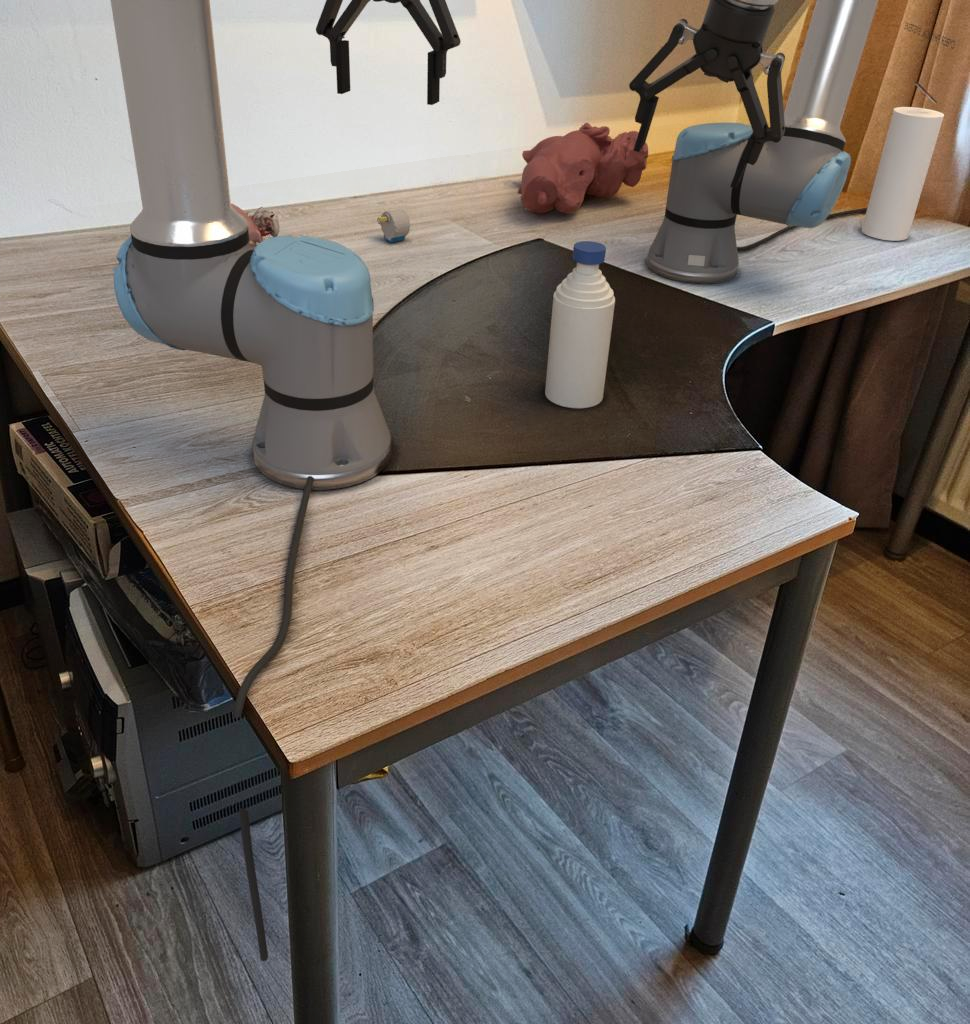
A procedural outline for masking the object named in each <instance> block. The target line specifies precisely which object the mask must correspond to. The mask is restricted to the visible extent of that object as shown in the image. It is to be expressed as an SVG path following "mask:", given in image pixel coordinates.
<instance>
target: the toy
mask: <svg viewBox="0 0 970 1024" xmlns="http://www.w3.org/2000/svg"><path fill="white" fill-rule="evenodd" d="M231 206H232V207H233V209H235V210H236V211H237V212H238V213H239V214H241V215H242V216H243V217H244V218H245V219H246V220H247V223H248V232H249V241H250V247H251V248H253V249H255V247H256V246H257V245H258V244H259V243H261V242H262V241H264V237H267V236H269V235H270V236H272V238H273V237H278V236H279V234H280V231H281V225H280V221H279V218H278V217H274V216H276V215H275V213H274V212H273V211H269V210H268V209H265V208H264V207H263V206H261V207H259V208H258V209H257V210H256V211H255V212H254V214H251V215H249V211H246V212H245V210H243V209H242V208H240V207H239V205H235V204H233V203H231ZM257 243H258V244H257Z"/></svg>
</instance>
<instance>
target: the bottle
mask: <svg viewBox="0 0 970 1024" xmlns="http://www.w3.org/2000/svg"><path fill="white" fill-rule="evenodd" d="M599 268H600V264H598V265H585V264H581V263H578V262H576V266H575V267H574V268H572V270H571V271H572V272H571V271H570V273H568V274H567V276H566V278H563V280H562V281H561V283H559V284H558V285H557V286H556V290H555V291H554V292H553V299H552V309H551V321H550V330H549V344H548V353H547V363H546V364H547V366H546V377H545V379H546V380H545V389H544V395H545V397H546V399H547V400H549V401H550V402H551V403H552V404H555V405H558V406H560V407H564V408H569V409H588V408H592V407H596V406H597V405H599V404H600V403H601V402H603V398H604V392H605V385H606V376H607V368H608V360H609V353H610V344H611V338H612V329H613V321H614V314H615V313H614V312H615V305H616V297H615V296H614V295H615V293H614V290H613V289H612V287H611V286H610V284H609V282H608V281H607V278H606V276H604V274H602V270H601V269H599Z"/></svg>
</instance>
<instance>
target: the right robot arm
mask: <svg viewBox="0 0 970 1024" xmlns="http://www.w3.org/2000/svg"><path fill="white" fill-rule="evenodd" d="M778 2H779V0H709V2H708V5H707V8H706V10H705V14H704V17H703V21H702V23H701V26H700V27H699V29H698V28H695V27H693V26H692V25H689V21H688V20H687V19H685V18H681V19H679V20H678V22H676V24H675V25H674V26H673V28H672V30H671V32H670V35H669V37H668V39H667V41H666V43H664V45H662V47H661V48H660V49H659V50H658V51H657V52H656V53H655V54H654V55H653V56H652V57H651V59H650V60H649V61H648V62H647V64H646V65H644V66H643V68H642V69H641V70H640V71H638V73H637V74H636V76H635V77H634V78H633V79H632V80H631V81H630V82H629V84H628V87H629V89H630V91H632V92H636V94H638V95H639V99H640V100H639V102H638V106H637V109H636V113H635V116H634V122H635V123H637V124H639V125H640V127H639V129H638V132H639V133H638V137H637V140H636V143H635V147H634V151H637V152H639V151H640V150H641V149H642V147H643V146H644V145H645V143H647V139H648V135H649V133H650V128H651V125H652V122H653V118H654V116H655V112H656V109H657V106H658V102H659V99H660V96H657V95H659V94H660V93H661V92H663V91H664V90H666V89H667V88H669V87H671V86H672V85H674V84H675V83H677V82H678V81H680V80H682V79H683V78H685V77H686V76H688V75H691V74H692V73H694V72H696V71H697V70H699V69H700V70H701V71H702V73H703V75H704V76H707V77H708V78H709V77H710V78H711V77H712V78H717V79H718V80H719V81H721V82H723V83H727V84H728V83H729V82H734V85H735V88H736V91H737V92H738V93H739V95H740V98H741V101H742V104H743V107H744V109H745V113H746V115H747V118H748V121H749V124H745V123H741V122H708V123H700V124H695V125H691V126H690V125H689V126H688V127H685V128H684V129H682V130H681V131H680V132H679V134H678V135H677V137H676V141H675V146H674V150H673V151H674V152H673V155H672V156H671V160H672V161H671V168H670V174H669V181H668V190H667V195H666V197H667V198H666V202H665V210H664V216H663V220H662V222H661V224H660V226H659V229H658V231H657V232H656V235H655V236H654V239H653V240H652V243H651V245H650V247H649V249H648V252H647V258H646V265H647V267H648V269H650V270H651V272H653V273H655V274H657V275H659V276H662V277H663V278H667V279H670V280H673V281H678V282H684V283H691V284H718V283H723V282H728V281H730V280H732V279H734V278H735V277H736V276H737V274H738V270H739V269H738V268H739V253H738V252H745V251H749V250H752V249H754V248H756V247H759V246H761V245H763V244H765V243H767V242H769V241H772V240H773V239H775V238H777V237H778V236H780V235H782V234H784V233H787V232H789V231H791V230H794V229H796V228H805V229H813V228H818V227H819V226H820V225H822V224H823V223H824V222H825V221H826V220H827V219H828V220H829V219H832V218H838V217H843V216H848V215H854V214H859V213H866V211H867V208H868V206H866V207H862V208H857V209H855V208H854V209H851V210H850V209H849V210H844V211H839V212H833V213H831V212H832V211H833V209H834V208H835V206H836V203H837V202H838V199H839V197H840V196H841V193H842V191H843V188H844V186H845V184H846V181H847V178H848V173H849V170H850V167H851V162H852V157H851V155H850V154H849V153H847V151H844V149H845V146H846V142H847V139H846V138H845V135H843V133H842V130H841V125H842V121H843V117H844V114H845V110H846V108H847V104H848V100H849V98H850V94H851V91H852V88H853V84H854V81H855V77H856V74H857V71H858V68H859V65H860V62H861V58H862V55H863V52H864V49H865V46H866V42H867V39H868V35H869V32H870V28H871V25H872V22H873V19H874V16H875V13H876V9H877V6H878V3H879V0H816V2H815V5H814V10H813V12H812V15H811V19H810V22H809V26H808V29H807V33H806V36H805V40H804V43H803V46H802V50H801V54H800V57H799V59H798V60H799V61H798V64H797V67H796V70H795V75H794V78H793V81H792V84H791V89H790V91H789V95H788V98H787V102H786V106H785V108H784V96H783V95H784V94H783V81H782V79H783V78H782V71H783V69H784V64H785V61H786V55H785V53H783V52H778V53H776V54H772V53H768V52H764V50H763V43H764V41H765V38H766V35H767V32H768V30H769V28H770V24H771V22H772V19H773V17H774V14H775V11H776V10H775V6H774V5H776V4H777V3H778ZM689 40H690V41H692V44H693V49H694V52H695V54H693V55H692V56H691V57H689V58H687V59H686V60H685V61H684V62H682V63H680V64H678V65H677V66H675V67H674V68H672V69H670V70H669V71H668V72H666V73H664V74H663V75H662V76H660V77H658V78H657V79H655V80H653V81H652V82H650V83H649V82H647V81H646V80H648V78H650V77H651V75H652V74H653V73H655V71H656V70H657V68H659V66H660V65H661V64H662V63H663V62H664V61H665V60H666V59H667V58H668V57H669V56H670V54H671V53H673V51H674V50H675V49H676V47H678V46H679V45H684V44H686V43H687V42H688V41H689ZM758 64H760V65H761V66H762V72H763V73H764V75H767V78H766V89H767V90H766V91H767V102H768V103H767V104H768V114H769V115H768V117H769V124H768V121H767V118H766V115H765V111H764V109H763V106H762V103H761V100H760V97H759V94H758V90H757V88H756V86H755V85H756V84H755V83H754V75H753V72H752V69H753V68H755V67H756V66H758ZM738 216H742V217H746V218H752V219H757V220H762V221H767V222H772V223H777V224H782V225H786V227H784V228H782V229H780V230H777V231H776V232H773V233H772V234H770V235H767V237H764V238H762V239H759V240H757V241H755V242H754V243H753V242H752V243H750V244H748V245H744V246H738V245H737V239H736V237H737V236H736V230H735V229H736V228H735V227H736V222H737V221H736V220H737V217H738Z"/></svg>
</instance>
